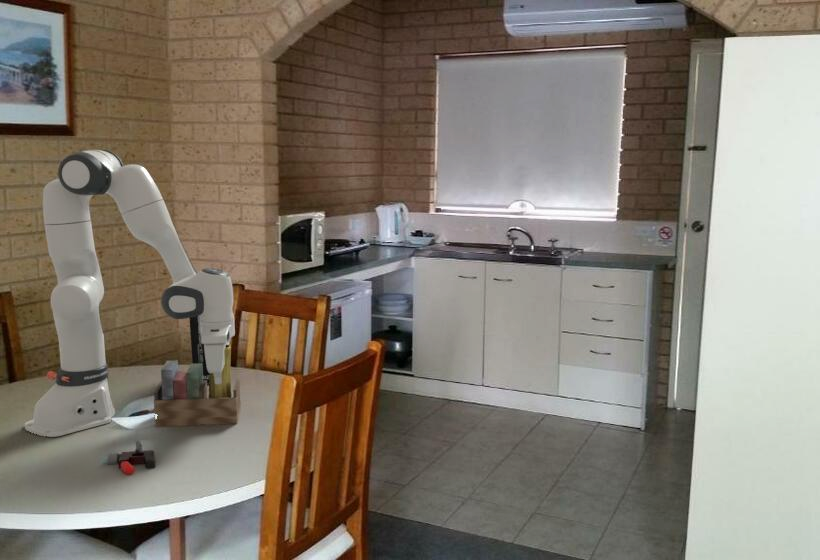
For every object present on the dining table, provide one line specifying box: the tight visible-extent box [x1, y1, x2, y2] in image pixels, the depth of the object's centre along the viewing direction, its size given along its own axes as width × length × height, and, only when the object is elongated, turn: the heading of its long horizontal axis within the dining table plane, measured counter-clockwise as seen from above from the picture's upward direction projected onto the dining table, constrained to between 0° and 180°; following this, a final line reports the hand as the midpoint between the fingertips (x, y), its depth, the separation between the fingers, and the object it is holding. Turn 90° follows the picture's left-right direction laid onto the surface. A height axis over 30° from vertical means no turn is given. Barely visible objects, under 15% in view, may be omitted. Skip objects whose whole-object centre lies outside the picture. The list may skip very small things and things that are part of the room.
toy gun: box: [103, 439, 156, 476], centre depth 173 cm, size 10×12×5 cm
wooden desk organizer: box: [153, 360, 242, 428], centre depth 203 cm, size 21×11×15 cm, turn 97°
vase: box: [207, 344, 233, 398], centre depth 203 cm, size 6×6×14 cm
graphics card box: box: [188, 316, 210, 384], centre depth 239 cm, size 17×7×27 cm, turn 179°
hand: (219, 379), depth 204 cm, fingers closed on vase, 5 cm apart
